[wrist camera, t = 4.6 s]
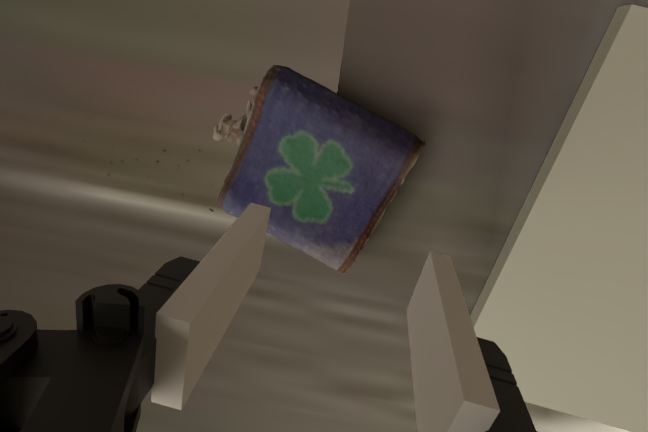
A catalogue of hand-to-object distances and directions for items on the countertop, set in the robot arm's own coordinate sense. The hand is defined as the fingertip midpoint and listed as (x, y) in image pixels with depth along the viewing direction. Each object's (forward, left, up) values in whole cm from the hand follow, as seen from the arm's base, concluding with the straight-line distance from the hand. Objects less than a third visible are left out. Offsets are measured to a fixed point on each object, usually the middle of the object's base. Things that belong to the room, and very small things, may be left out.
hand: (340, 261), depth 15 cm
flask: (0, +1, -11) cm, 11 cm away
